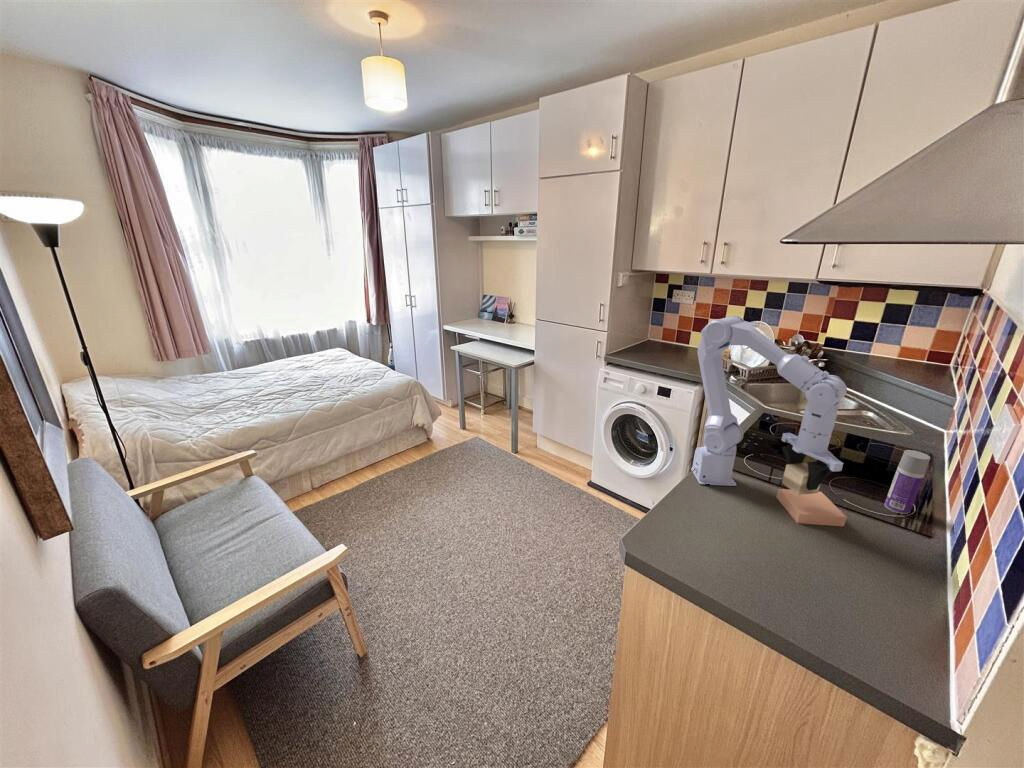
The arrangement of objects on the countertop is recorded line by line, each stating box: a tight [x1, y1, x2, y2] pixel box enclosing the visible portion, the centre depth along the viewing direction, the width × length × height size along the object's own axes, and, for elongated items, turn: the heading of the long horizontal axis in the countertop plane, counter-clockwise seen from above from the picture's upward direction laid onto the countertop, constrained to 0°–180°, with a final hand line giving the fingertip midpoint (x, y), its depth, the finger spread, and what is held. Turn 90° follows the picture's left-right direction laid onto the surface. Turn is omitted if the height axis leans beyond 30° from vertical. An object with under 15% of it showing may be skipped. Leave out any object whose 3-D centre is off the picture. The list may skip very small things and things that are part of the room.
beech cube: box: [781, 463, 821, 495], centre depth 95 cm, size 5×5×5 cm
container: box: [883, 449, 931, 515], centre depth 97 cm, size 5×5×15 cm
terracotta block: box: [775, 488, 848, 527], centre depth 98 cm, size 10×10×3 cm
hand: (801, 482), depth 95 cm, fingers closed on beech cube, 5 cm apart
